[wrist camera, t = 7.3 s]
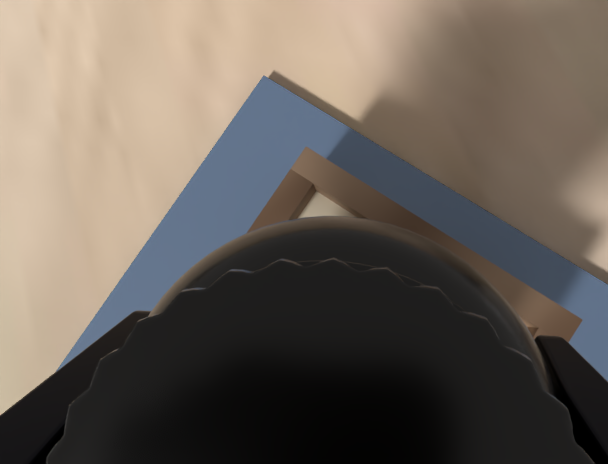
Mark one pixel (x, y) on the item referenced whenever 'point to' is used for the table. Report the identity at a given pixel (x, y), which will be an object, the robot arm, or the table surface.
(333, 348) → the supplement bottle
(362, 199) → the foundation socket
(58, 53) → the table surface
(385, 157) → the board
